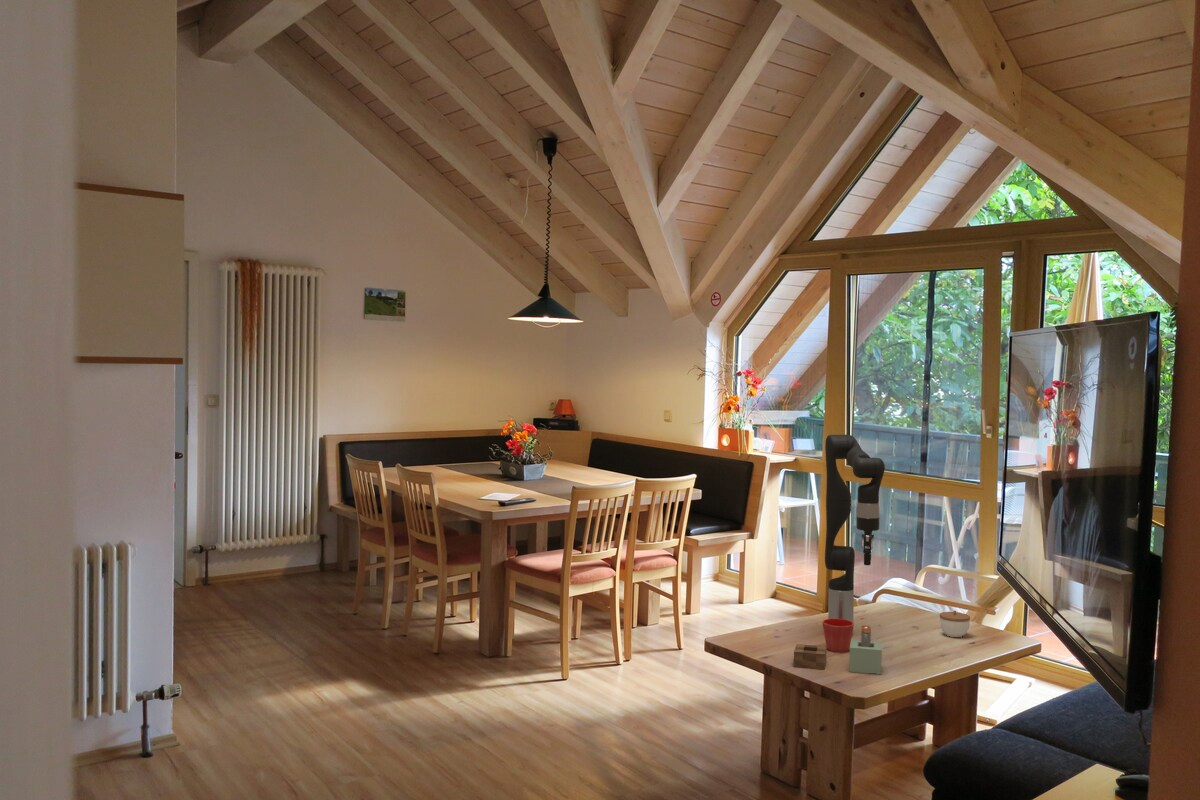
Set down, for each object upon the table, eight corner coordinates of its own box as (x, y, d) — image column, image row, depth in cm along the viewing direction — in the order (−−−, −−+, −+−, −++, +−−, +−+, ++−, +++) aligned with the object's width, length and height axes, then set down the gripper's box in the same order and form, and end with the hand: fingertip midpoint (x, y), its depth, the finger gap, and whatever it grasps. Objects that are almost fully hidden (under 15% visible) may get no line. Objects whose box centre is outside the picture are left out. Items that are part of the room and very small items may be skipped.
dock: (850, 663, 320) (850, 639, 320) (881, 665, 317) (881, 642, 317) (849, 671, 311) (849, 647, 310) (881, 674, 308) (881, 650, 308)
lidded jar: (950, 640, 349) (950, 615, 349) (933, 632, 360) (933, 608, 359) (975, 638, 352) (976, 613, 351) (958, 631, 362) (958, 606, 362)
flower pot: (830, 654, 331) (830, 626, 330) (817, 645, 341) (817, 618, 341) (858, 652, 333) (859, 625, 332) (844, 644, 343) (845, 617, 343)
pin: (861, 666, 316) (861, 625, 316) (870, 667, 315) (870, 626, 315) (860, 669, 313) (861, 627, 313) (870, 670, 312) (870, 628, 312)
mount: (796, 658, 325) (796, 643, 325) (826, 660, 323) (826, 646, 322) (793, 666, 316) (793, 651, 316) (824, 669, 313) (824, 654, 313)
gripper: (857, 512, 332) (856, 558, 333) (856, 518, 319) (855, 566, 319) (879, 513, 330) (879, 559, 330) (879, 519, 317) (878, 567, 317)
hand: (867, 562), depth 325 cm, fingers open, 8 cm apart
